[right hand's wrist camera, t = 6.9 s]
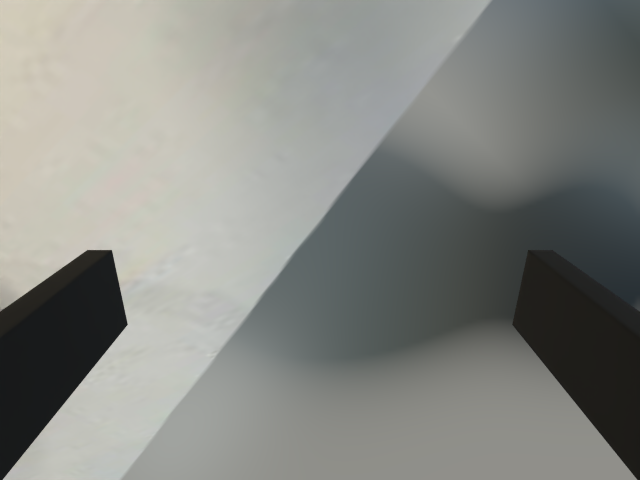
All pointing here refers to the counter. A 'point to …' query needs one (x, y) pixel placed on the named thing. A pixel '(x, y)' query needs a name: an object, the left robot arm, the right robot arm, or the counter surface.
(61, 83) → the counter surface
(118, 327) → the right robot arm
